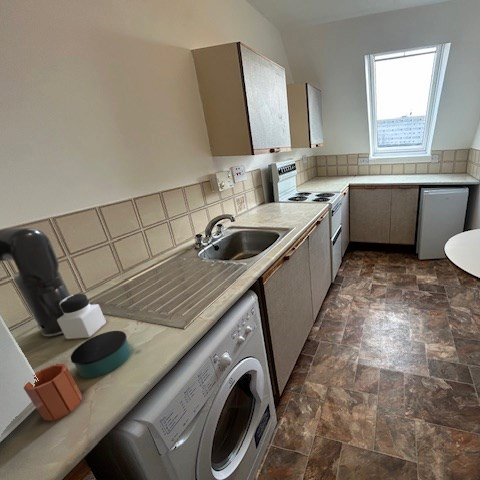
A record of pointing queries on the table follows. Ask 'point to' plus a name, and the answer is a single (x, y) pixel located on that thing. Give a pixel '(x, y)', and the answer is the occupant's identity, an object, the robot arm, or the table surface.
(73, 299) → the medicine bottle
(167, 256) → the table surface
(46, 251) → the robot arm
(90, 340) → the teal tin
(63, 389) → the terracotta cup
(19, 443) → the table surface
